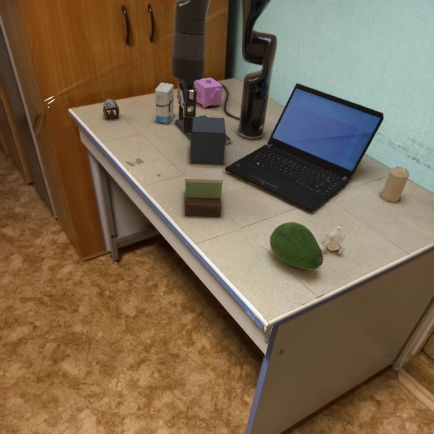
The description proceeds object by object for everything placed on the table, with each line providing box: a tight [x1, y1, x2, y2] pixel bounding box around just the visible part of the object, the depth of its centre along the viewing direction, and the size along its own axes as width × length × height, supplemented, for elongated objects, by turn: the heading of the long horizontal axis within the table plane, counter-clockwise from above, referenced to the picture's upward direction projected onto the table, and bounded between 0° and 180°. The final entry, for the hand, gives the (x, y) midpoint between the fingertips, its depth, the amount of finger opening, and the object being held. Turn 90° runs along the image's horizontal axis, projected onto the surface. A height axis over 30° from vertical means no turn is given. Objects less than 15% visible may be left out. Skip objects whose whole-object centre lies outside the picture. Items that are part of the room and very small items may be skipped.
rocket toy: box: [323, 224, 346, 255], centre depth 109 cm, size 5×5×8 cm
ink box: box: [154, 82, 175, 125], centre depth 158 cm, size 8×5×12 cm, turn 168°
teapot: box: [194, 77, 223, 109], centre depth 171 cm, size 18×13×10 cm
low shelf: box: [184, 197, 222, 218], centre depth 121 cm, size 12×10×4 cm
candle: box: [380, 165, 410, 203], centre depth 129 cm, size 6×6×10 cm
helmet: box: [102, 98, 120, 120], centre depth 157 cm, size 6×8×7 cm
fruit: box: [269, 221, 324, 271], centre depth 104 cm, size 15×10×10 cm, turn 33°
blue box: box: [189, 116, 227, 166], centre depth 139 cm, size 11×11×11 cm
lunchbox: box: [184, 167, 224, 200], centre depth 118 cm, size 6×10×6 cm, turn 93°
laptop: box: [224, 82, 385, 213], centre depth 133 cm, size 33×38×19 cm
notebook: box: [174, 115, 231, 145], centre depth 155 cm, size 13×2×21 cm
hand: (185, 125), depth 107 cm, fingers open, 8 cm apart
